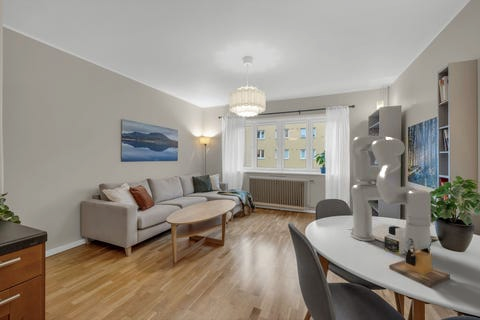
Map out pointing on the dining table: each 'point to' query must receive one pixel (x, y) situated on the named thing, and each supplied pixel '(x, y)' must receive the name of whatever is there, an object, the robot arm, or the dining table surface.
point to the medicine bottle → (395, 240)
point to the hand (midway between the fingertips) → (417, 261)
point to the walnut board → (427, 279)
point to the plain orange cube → (421, 263)
